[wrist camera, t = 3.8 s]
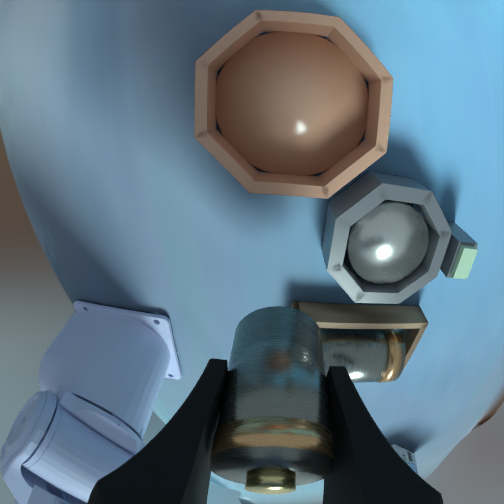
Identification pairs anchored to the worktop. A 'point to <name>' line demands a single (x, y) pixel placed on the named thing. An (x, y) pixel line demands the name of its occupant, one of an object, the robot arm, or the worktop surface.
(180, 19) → the worktop surface
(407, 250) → the shiny silver dome
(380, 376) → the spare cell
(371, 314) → the trough
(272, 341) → the cell
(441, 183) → the worktop surface
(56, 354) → the robot arm
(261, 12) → the cup
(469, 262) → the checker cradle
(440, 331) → the worktop surface
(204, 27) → the worktop surface
